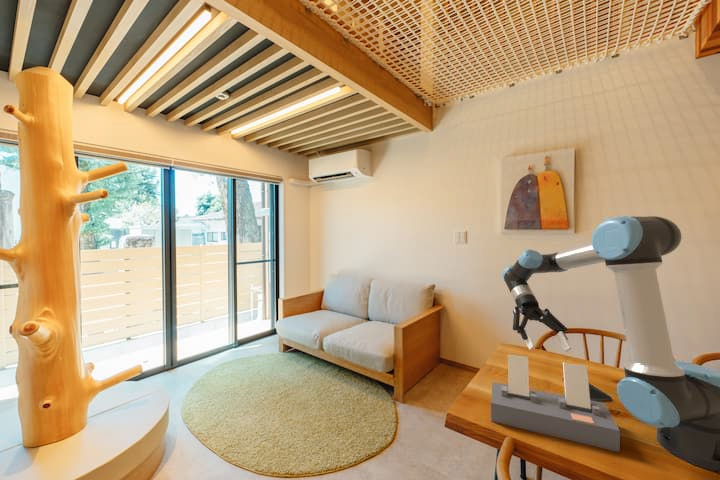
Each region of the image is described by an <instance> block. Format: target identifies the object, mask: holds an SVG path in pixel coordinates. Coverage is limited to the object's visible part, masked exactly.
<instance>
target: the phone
mask: <svg viewBox="0 0 720 480" xmlns="http://www.w3.org/2000/svg"><path fill="white" fill-rule="evenodd" d="M563 381H564V377H563V378H562V382H563ZM588 383H589V394H590V400H591V401H597V402H611V401H613V397H612V396H610V395H609V394H607V393H606V392H604V391H603V390H601V389H599V388H597V386H594V385H592V383H590V382H588Z"/></svg>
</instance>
